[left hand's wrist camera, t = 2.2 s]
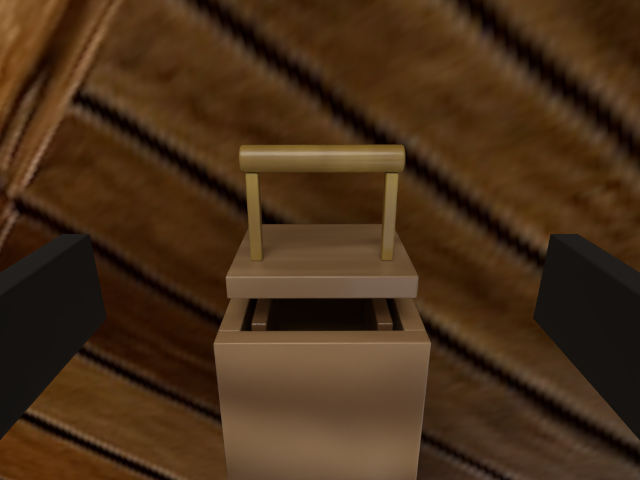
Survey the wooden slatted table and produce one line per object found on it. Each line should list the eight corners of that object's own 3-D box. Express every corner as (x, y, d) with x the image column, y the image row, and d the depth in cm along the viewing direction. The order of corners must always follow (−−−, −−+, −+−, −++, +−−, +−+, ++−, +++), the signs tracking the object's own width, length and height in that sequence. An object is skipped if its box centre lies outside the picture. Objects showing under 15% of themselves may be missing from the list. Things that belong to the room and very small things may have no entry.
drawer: (243, 130, 25) (214, 152, 18) (398, 130, 25) (430, 152, 18) (262, 433, 34) (247, 530, 27) (379, 432, 34) (396, 529, 27)
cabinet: (245, 260, 30) (213, 343, 20) (396, 259, 30) (431, 342, 20) (259, 463, 36) (239, 594, 27) (382, 463, 36) (404, 594, 27)
